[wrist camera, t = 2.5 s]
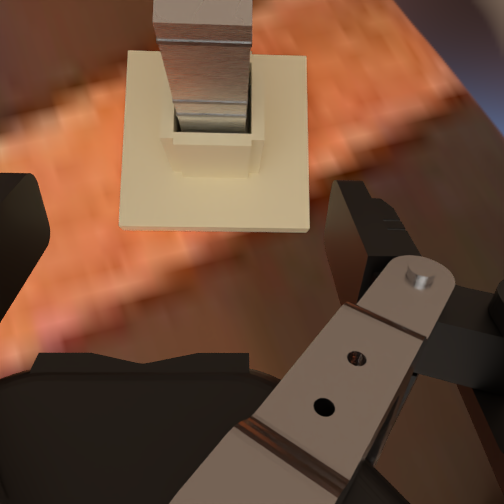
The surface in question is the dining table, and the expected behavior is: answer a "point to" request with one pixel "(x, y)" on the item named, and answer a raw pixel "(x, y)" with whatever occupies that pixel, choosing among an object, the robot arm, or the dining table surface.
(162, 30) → the column
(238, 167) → the stand base
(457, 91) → the dining table surface
